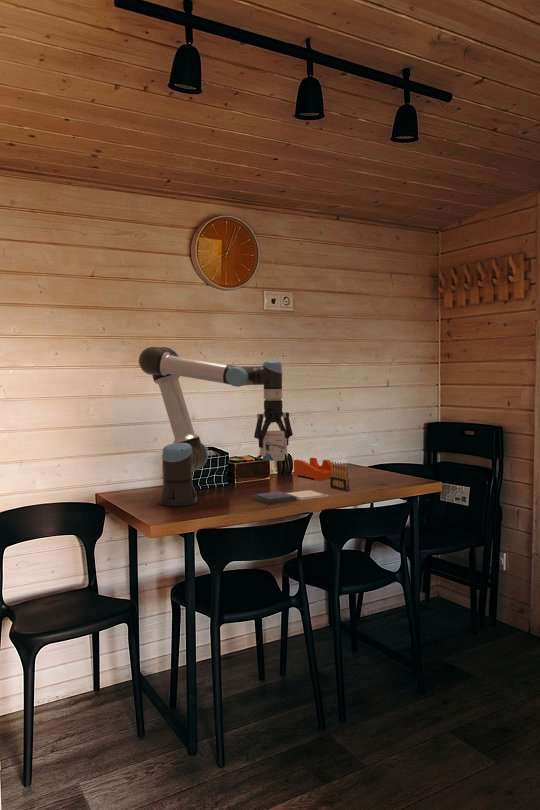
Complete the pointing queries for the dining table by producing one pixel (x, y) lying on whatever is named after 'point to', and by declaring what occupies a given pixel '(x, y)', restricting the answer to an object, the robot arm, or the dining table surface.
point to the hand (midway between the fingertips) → (273, 454)
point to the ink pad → (274, 497)
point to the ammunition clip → (339, 477)
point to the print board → (307, 494)
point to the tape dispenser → (313, 469)
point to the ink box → (274, 446)
